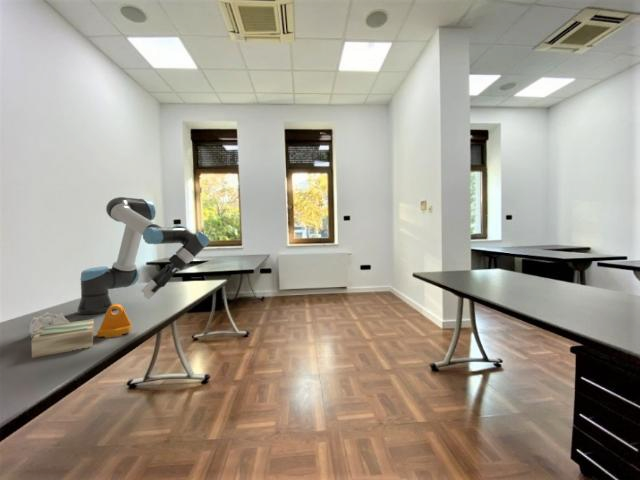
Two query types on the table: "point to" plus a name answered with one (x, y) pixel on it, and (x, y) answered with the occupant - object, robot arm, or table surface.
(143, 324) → the table surface
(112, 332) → the bracket
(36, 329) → the white bone skull
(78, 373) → the table surface
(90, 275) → the robot arm
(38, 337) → the riser stand
